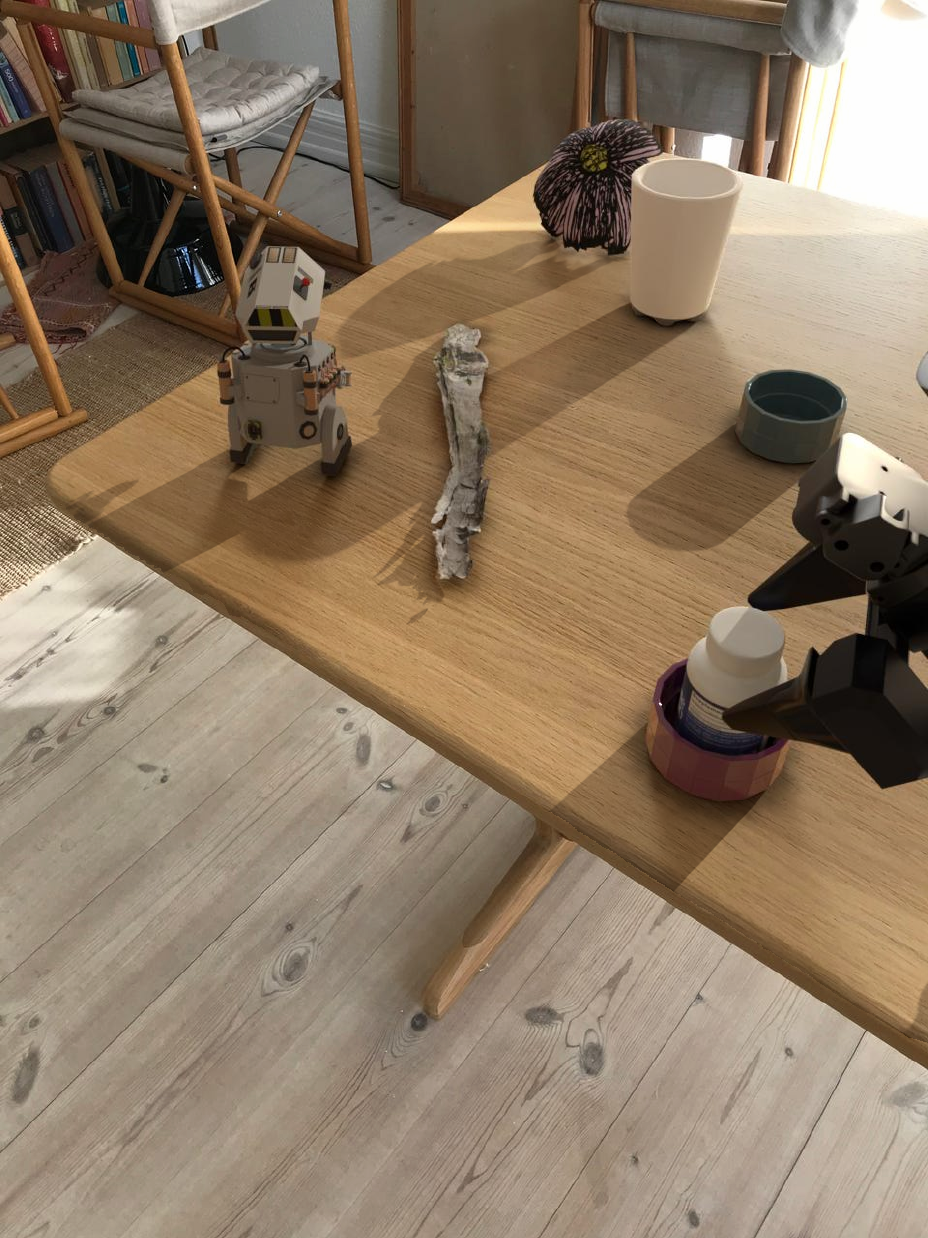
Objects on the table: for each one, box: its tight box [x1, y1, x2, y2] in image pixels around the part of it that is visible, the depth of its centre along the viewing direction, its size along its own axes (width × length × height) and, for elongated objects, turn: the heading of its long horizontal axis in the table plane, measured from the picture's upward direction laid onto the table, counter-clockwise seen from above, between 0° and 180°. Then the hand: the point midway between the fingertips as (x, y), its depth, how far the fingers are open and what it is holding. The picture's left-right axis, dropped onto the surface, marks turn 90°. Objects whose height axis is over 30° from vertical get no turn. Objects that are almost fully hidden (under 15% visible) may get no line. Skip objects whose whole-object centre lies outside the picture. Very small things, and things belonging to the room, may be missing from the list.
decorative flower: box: [532, 118, 665, 256], centre depth 109 cm, size 15×12×15 cm
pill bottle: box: [674, 605, 788, 756], centre depth 57 cm, size 5×5×10 cm
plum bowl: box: [644, 657, 793, 802], centre depth 59 cm, size 8×8×4 cm
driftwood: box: [430, 323, 491, 580], centre depth 83 cm, size 37×2×5 cm
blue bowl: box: [735, 368, 848, 464], centre depth 82 cm, size 8×8×4 cm
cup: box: [629, 157, 744, 327], centre depth 95 cm, size 10×10×13 cm
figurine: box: [216, 245, 353, 477], centre depth 78 cm, size 9×12×15 cm
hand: (739, 659), depth 55 cm, fingers open, 9 cm apart
